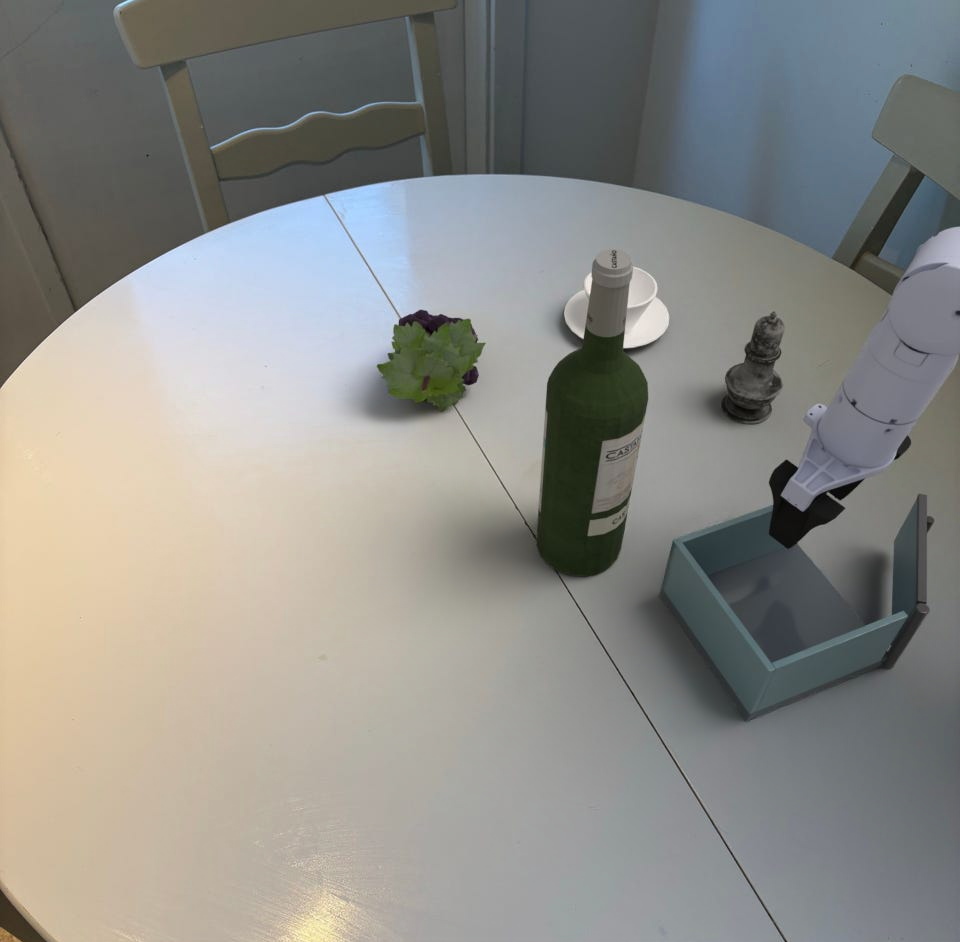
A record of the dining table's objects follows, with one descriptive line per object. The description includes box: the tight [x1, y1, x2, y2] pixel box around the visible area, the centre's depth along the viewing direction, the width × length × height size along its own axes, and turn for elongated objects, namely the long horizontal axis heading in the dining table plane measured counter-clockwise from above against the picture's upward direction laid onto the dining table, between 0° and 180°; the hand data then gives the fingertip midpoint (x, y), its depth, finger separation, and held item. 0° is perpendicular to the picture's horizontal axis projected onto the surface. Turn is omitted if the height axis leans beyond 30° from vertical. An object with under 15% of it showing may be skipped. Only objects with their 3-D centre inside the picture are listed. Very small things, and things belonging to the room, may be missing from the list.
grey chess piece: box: [720, 311, 786, 425], centre depth 92 cm, size 6×6×12 cm
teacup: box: [563, 266, 670, 349], centre depth 104 cm, size 12×12×5 cm
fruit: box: [376, 309, 487, 411], centre depth 96 cm, size 10×11×15 cm
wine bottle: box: [535, 248, 649, 577], centre depth 74 cm, size 8×8×30 cm
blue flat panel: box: [890, 493, 935, 647], centre depth 78 cm, size 12×2×6 cm, turn 163°
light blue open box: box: [659, 504, 930, 722], centre depth 76 cm, size 14×14×8 cm
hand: (806, 515), depth 75 cm, fingers open, 7 cm apart
